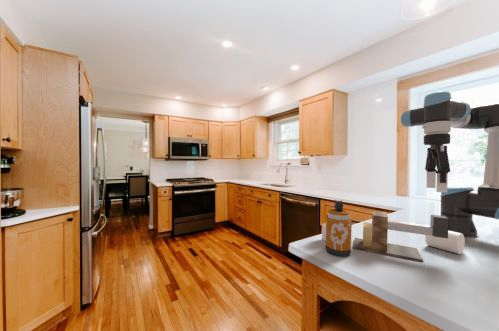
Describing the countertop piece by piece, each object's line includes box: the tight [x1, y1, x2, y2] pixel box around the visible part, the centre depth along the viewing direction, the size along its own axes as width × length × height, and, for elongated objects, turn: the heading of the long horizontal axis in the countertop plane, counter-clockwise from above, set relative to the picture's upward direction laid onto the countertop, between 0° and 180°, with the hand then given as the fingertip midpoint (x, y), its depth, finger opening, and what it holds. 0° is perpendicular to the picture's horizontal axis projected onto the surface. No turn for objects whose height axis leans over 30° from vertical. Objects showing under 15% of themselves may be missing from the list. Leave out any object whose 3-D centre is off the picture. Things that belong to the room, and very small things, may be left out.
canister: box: [325, 199, 353, 257], centre depth 81 cm, size 9×11×20 cm
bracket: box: [352, 210, 424, 262], centre depth 84 cm, size 22×12×14 cm, turn 60°
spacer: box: [362, 221, 372, 248], centre depth 87 cm, size 3×8×8 cm, turn 150°
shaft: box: [388, 214, 448, 238], centre depth 80 cm, size 20×4×7 cm, turn 60°
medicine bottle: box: [321, 213, 328, 242], centre depth 92 cm, size 7×7×12 cm
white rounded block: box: [424, 231, 466, 255], centre depth 86 cm, size 12×10×8 cm
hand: (436, 189), depth 80 cm, fingers open, 13 cm apart
